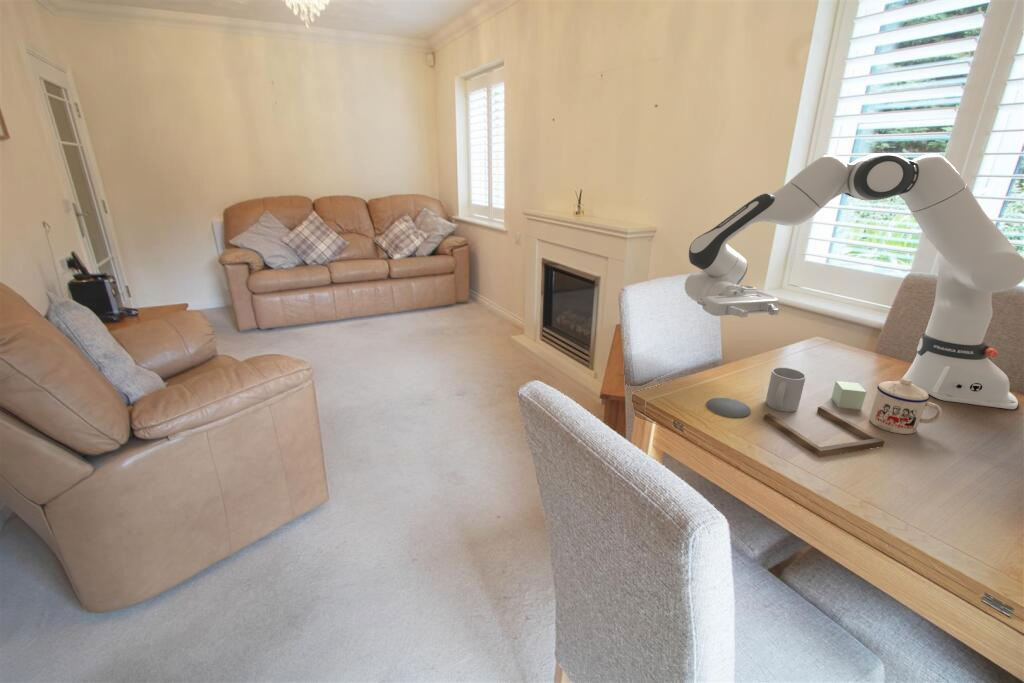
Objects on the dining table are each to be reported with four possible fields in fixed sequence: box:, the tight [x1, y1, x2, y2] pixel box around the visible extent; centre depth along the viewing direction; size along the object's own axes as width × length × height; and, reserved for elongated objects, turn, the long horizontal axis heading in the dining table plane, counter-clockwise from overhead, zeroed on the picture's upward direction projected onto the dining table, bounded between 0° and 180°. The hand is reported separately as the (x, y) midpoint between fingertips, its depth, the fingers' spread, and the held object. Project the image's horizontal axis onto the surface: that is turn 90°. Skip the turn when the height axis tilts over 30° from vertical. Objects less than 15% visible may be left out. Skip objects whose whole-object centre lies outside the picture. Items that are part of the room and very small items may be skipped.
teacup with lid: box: [868, 377, 943, 435], centre depth 104 cm, size 12×9×12 cm
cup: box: [765, 366, 807, 413], centre depth 113 cm, size 7×10×9 cm
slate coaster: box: [706, 397, 751, 419], centre depth 114 cm, size 10×10×1 cm
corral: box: [763, 405, 886, 458], centre depth 103 cm, size 16×16×2 cm
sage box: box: [830, 380, 867, 410], centre depth 115 cm, size 5×5×5 cm
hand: (761, 313), depth 118 cm, fingers open, 8 cm apart
